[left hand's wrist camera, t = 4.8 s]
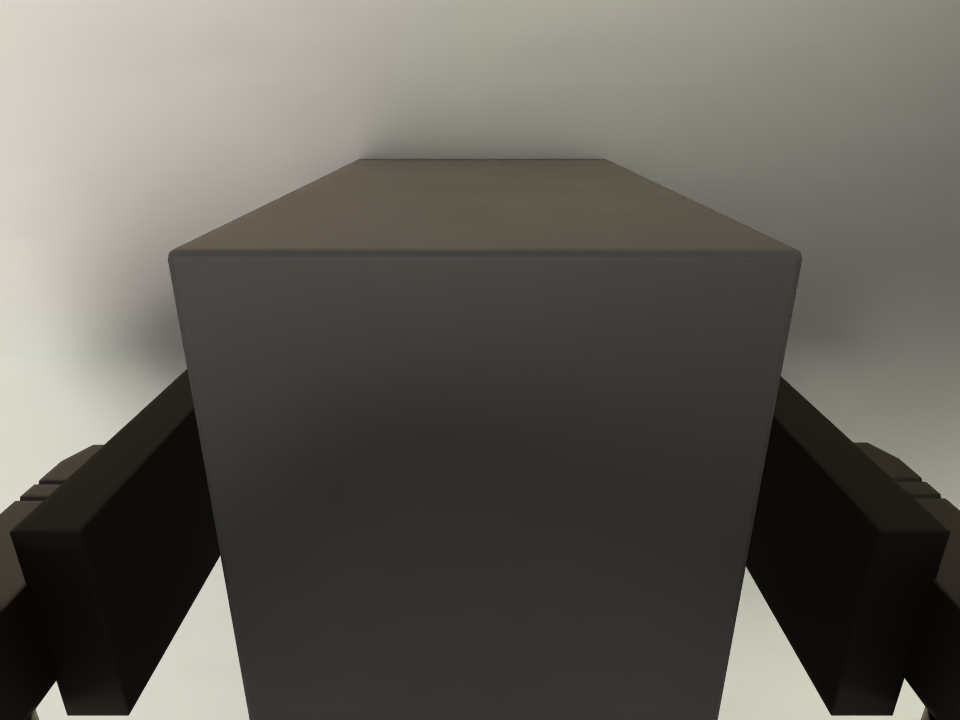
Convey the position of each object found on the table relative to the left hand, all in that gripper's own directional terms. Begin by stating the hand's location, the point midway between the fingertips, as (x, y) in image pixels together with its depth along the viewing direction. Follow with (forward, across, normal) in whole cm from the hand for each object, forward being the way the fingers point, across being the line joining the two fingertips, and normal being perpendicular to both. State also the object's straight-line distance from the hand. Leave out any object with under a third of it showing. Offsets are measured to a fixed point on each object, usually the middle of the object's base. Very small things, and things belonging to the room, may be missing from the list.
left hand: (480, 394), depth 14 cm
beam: (+1, 0, -35) cm, 35 cm away
